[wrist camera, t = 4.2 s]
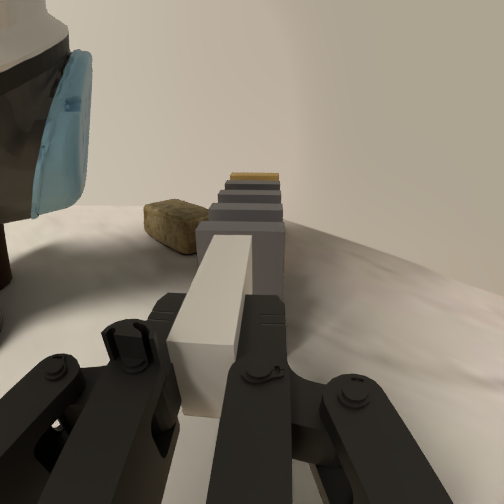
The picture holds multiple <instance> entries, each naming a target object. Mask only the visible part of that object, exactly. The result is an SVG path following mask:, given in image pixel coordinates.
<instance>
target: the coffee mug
mask: <svg viewBox="0 0 504 504" xmlns="http://www.w3.org/2000/svg"><path fill="white" fill-rule="evenodd" d="M11 280H12V273H11V268H10V263H9V257H8V252H7V246H6V239H5V232H4V225H3V224H0V290H2V289H3V288H4V287H6V286H7V285H8V284H9V283H10V282H11Z"/></svg>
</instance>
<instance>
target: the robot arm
mask: <svg viewBox="0 0 504 504" xmlns="http://www.w3.org/2000/svg"><path fill="white" fill-rule="evenodd" d="M91 91H92V55H91V54H90V53H89V52H87V51H81V50H80V49H78V50H74V51H73V52H70V49H69V33H68V27H67V26H66V25H65V24H64V23H62V22H61V21H59V20H57V19H56V18H55V17H53V16H51V15H50V14H49V13H48V12H47V9H46V5H45V0H0V224H4V223H9V222H14V221H19V220H24V219H29V218H31V219H35V218H38V216H39V215H41V214H45V213H49V212H53V211H57V210H61V209H65V208H68V207H70V206H72V205H73V204H75V203H76V201H77V200H78V199H79V198H80V197H81V195H82V193H83V190H84V187H85V180H86V173H87V159H88V143H89V125H90V108H91ZM1 328H2V315H1V312H0V331H1ZM101 335H102V338H103V341H104V344H105V346H106V349H107V352H108V355H109V358H110V361H109V363H108V365H106V366H100V367H88V368H80V366H79V364H78V361H77V359H75V358H74V357H73V356H72V355H68V354H55V355H52V356H49V357H47V358H45V359H44V360H42V361H41V362H39V363H38V364H37V365H36V366H35V367H34V368H33V369H32V370H31V371H30V372H29V373H27V374H26V375H25V376H24V377H23V378H22V379H21V380H20V381H19V382H18V383H17V384H16V385H15V386H13V387H12V388H11V389H10V390H9V391H8V392H7V393H6V394H5V395H4V396H3V397H2V398H1V399H0V504H161V502H162V498H163V494H164V490H165V486H166V482H167V478H168V474H169V470H170V466H171V462H172V458H173V454H174V450H175V447H176V443H177V439H178V435H179V431H180V424H179V420H178V417H177V416H178V413H179V409H180V406H182V409H183V413H184V415H190V416H199V417H210V418H220V423H219V429H218V435H217V441H216V447H215V453H214V458H213V464H212V470H211V476H210V482H209V488H208V494H207V500H206V504H292V459H296V460H300V461H304V462H308V463H309V465H310V468H311V471H312V474H313V476H314V479H315V482H316V484H317V487H318V490H319V493H320V495H321V498H322V501H323V503H324V504H453V502H452V500H451V498H450V497H449V495H448V493H447V492H446V490H445V488H444V487H443V485H442V483H441V482H440V480H439V478H438V477H437V475H436V473H435V472H434V470H433V469H432V467H431V465H430V464H429V462H428V460H427V459H426V457H425V455H424V454H423V452H422V451H421V449H420V447H419V446H418V444H417V443H416V441H415V439H414V438H413V436H412V435H411V433H410V431H409V430H408V428H407V427H406V425H405V424H404V422H403V420H402V419H401V417H400V416H399V414H398V413H397V411H396V409H395V408H394V406H393V405H392V403H391V402H390V400H389V399H388V397H387V396H386V394H385V392H384V391H383V389H382V388H381V387H380V386H379V385H378V384H377V383H376V382H375V381H374V380H372V379H370V378H368V377H366V376H363V375H358V374H344V375H340V376H338V377H335V378H333V379H332V380H331V381H330V382H328V383H327V384H326V385H325V384H320V383H316V382H312V381H309V380H306V379H303V378H301V377H300V376H298V375H296V374H295V373H294V372H293V371H292V370H291V368H290V367H289V365H288V362H287V351H286V328H285V308H284V303H283V302H282V301H281V299H280V298H279V297H278V295H252V235H214V236H213V238H212V240H211V243H210V245H209V247H208V249H207V251H206V253H205V255H204V258H203V260H202V262H201V264H200V266H199V268H198V271H197V273H196V275H195V277H194V279H193V281H192V284H191V286H190V288H189V290H188V293H187V294H186V293H167V294H166V295H164V296H163V297H162V298H161V299H159V300H158V301H157V303H156V304H155V306H154V308H153V310H152V312H151V313H150V315H149V317H148V320H146V321H143V320H139V319H125V320H121V321H118V322H115V323H113V324H111V325H109V326H107V327H106V328H105V329H104V330H103V331H102V332H101ZM56 420H58V421H59V423H60V425H59V426H58V427H56V428H53V427H52V426H51V425H52V424H53V423H54V422H55V421H56Z"/></svg>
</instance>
